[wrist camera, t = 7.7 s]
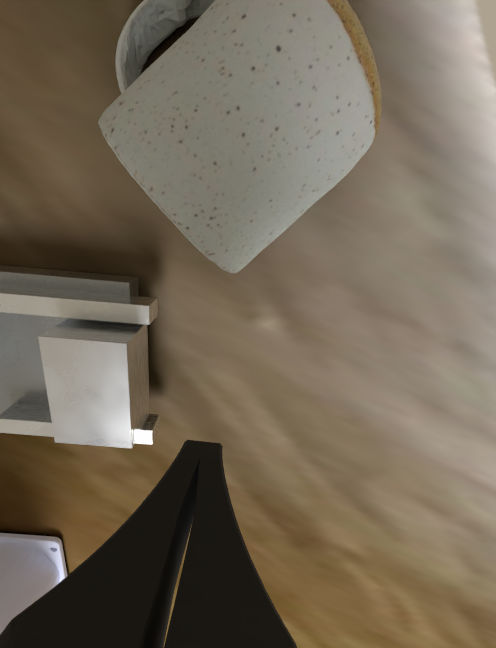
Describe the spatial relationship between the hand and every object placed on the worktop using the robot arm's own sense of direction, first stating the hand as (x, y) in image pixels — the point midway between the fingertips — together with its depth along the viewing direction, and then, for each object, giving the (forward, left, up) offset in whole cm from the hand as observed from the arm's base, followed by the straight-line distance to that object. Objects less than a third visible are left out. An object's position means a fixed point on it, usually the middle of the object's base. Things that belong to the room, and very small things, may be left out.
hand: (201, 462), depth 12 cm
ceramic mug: (+12, +1, -9) cm, 15 cm away
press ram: (0, +6, -7) cm, 9 cm away
